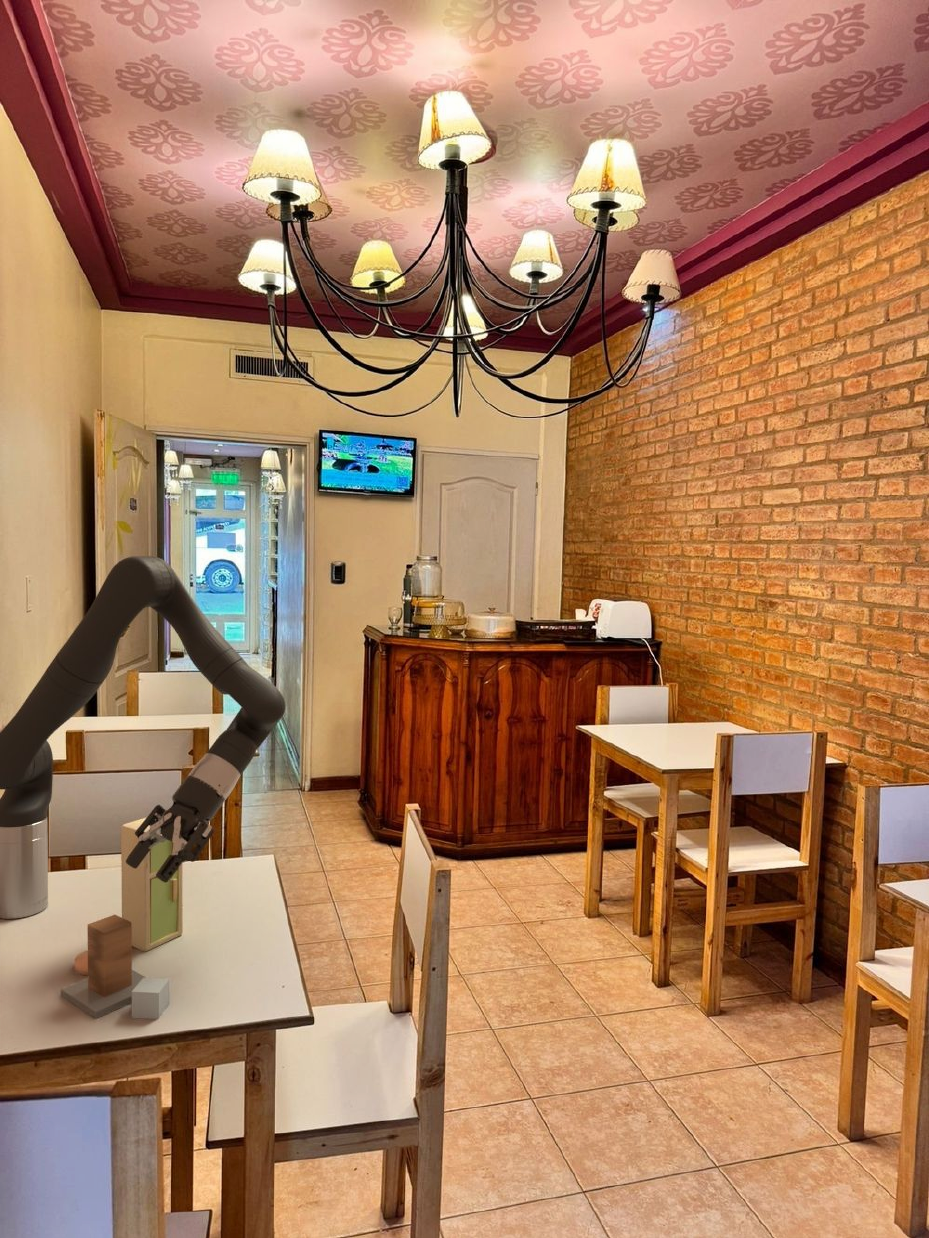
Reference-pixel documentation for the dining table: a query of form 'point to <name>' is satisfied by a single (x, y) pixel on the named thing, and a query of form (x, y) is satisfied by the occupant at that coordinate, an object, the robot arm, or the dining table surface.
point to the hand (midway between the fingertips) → (145, 872)
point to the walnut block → (109, 955)
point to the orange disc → (81, 963)
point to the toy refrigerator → (150, 893)
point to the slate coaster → (99, 997)
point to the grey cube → (150, 998)
